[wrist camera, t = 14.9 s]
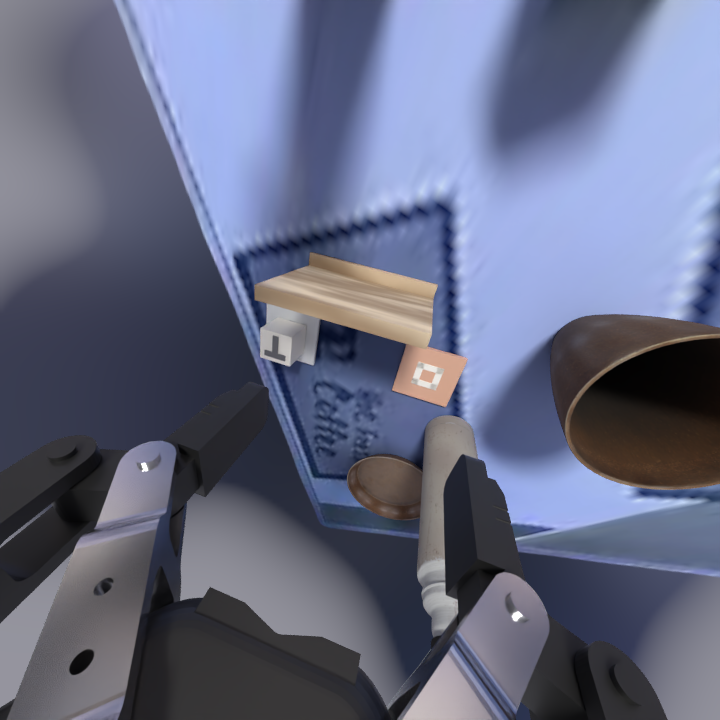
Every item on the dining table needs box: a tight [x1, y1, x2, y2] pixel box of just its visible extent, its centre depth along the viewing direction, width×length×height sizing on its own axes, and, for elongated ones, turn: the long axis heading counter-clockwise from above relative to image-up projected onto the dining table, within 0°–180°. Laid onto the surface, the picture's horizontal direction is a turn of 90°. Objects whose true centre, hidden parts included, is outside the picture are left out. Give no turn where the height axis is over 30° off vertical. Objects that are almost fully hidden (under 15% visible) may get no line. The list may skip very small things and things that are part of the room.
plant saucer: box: [347, 454, 423, 520], centre depth 54 cm, size 18×18×3 cm
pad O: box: [392, 344, 468, 407], centre depth 42 cm, size 9×9×1 cm
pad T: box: [266, 304, 321, 365], centre depth 45 cm, size 9×9×1 cm
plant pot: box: [550, 314, 720, 490], centre depth 28 cm, size 15×15×16 cm
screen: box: [255, 252, 438, 349], centre depth 32 cm, size 5×18×14 cm, turn 78°
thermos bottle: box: [417, 415, 478, 649], centre depth 34 cm, size 8×8×28 cm
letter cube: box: [260, 317, 307, 367], centre depth 42 cm, size 5×5×5 cm
